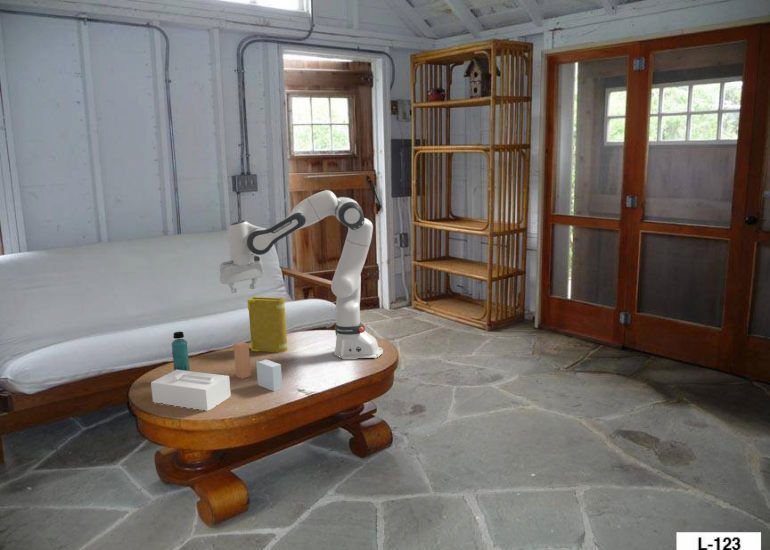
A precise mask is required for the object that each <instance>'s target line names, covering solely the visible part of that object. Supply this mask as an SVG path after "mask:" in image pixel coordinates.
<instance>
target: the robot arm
mask: <svg viewBox="0 0 770 550" xmlns="http://www.w3.org/2000/svg"><path fill="white" fill-rule="evenodd" d="M329 216H334V217H335V218H336V219H337V220H338V221H339V222H340V223H341V224H342V225H343V226H345V227H346V228H347V229H348V230H347V234H346V237H345V241H344V244H343V248H342V252H341V255H340V258H339V260H338V263H337V266H336V269H335V271H334V274H333V277H332V281H331V284H330V289H331V293H332V294H333V295H335V297H336V302H335V325H334V326H335V327H334V328H335V329H334V331H335V332H334V333H335V336H336V337H335V348H334V352H333V354H334V356H336V355H337V356H336V357H338V356H340V357H341V358H342V359H341V358H340V357H339V358H340V359H341V360H358V359H357V358H375V359H377V357H378V358H379V356H380V355H381V354H382V355H383V353H384V349H383V348H382V347H379V344H378V341H377V339H376V337H374V336H373V335H372V334H370V333H369V332H367V331H366V330H365V329H366V328H365V327H366V324H365V323H362V322H361V309H360V308H361V307H360V306H361V305H360V303H361V291H362V290H361V289H362V287H361V286H362V285H361V284H362V279H361V278H362V276H361V273H362V271H363V267H364V265H365V264H366V260H367V257H368V253H369V250H370V246H371V242H372V238H373V230H374V226H373V223H372V221H371V220H369V219H368V218H366V217H364V211H363V209H362V207H361V206H360V205H359V203H358V202H357V201H356V200H355V199H353V198H352V197H349V196H336V194H335V193H334V192H333V191H332V190H329V189H325V190H322V191H319V192H317V193H314V194H312V195H310V196H307V198H305V199H303V200H301V201H300V202H298V203H297V204H296V205H295V206H294V207H293V208H292V210H291V212H290V213H289V214H288V215H287V216H286V217H285V218H284V219H282V220H281V221H279V222H277V223H276V224H274V225H272V226H271V227H268V228H266V227H262V226H257V225H254V224H252V223H250V222H248V221H247V220H239V221H238V220H237V221H235V222H232V223H231V224H230V225H229V227H228V234H227V235H228V245H229V248H230V249H229V260H227V261H223V262H221V264H220V265H219V283H221V284H222V285H223V284H224V285H228V286H229V288H230V292H231V294H235V293H237V287H234V285H235V284H234V283H238V282H244V281H247V280H251V284H249V289H250V290H254V289H256V284H257V283H256V282H257V281H258V278H262V277H264V274H265V271H264V264H263V262H262V260H263V259H262V255H265V254H267V253H269V251H270V250H271V249H272V247H273V246H274V245H275V244H276V243H277V242H278V241H280V240H282V239H283V238H285V237H287V236H288V235H290V234H291V233H294V232H296V231H298V230H300V229H304V228H306V227H309V226H312V225H314V224H317V223H318V222H320V221H322V220H323V219H325V218H326V217H329ZM382 355H381V356H382ZM381 356H380V357H381Z"/></svg>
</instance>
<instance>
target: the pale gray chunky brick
mask: <svg viewBox="0 0 770 550" xmlns="http://www.w3.org/2000/svg"><path fill="white" fill-rule="evenodd" d="M255 368H256V382H257V383H256V384H257V386H259V387H263V388H265V389H267V390H270V391H272V392H277V391H280V390H282V389H283V378H282V364H280V363H277V362H274V361H272V360H269V359H266V358H262V359H258V360H255Z"/></svg>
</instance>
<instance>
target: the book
mask: <svg viewBox="0 0 770 550" xmlns="http://www.w3.org/2000/svg"><path fill="white" fill-rule="evenodd" d="M285 304H286V303H285V298H283V297H271V296H269V297H266V296H253V297H252V298H249V299H247V310H248V318H249V328H250V329H249V330H250V332H249V333H250V350H251V352H265V351H266V352H267V351H268V352H267V353H278V352H281V353H286V352H287V351H288V349H289V348H288V337H287V323H286V307H285ZM285 351H286V352H285ZM266 352H265V353H266Z"/></svg>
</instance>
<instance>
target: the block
mask: <svg viewBox="0 0 770 550" xmlns="http://www.w3.org/2000/svg"><path fill="white" fill-rule="evenodd" d="M233 354H234V367H235V376H236V377H238V376H239V377H238V378H240V377H241V379H245V378H249V377H252V373H251V360H250V347H249V343H247V342H244V341H241V342H240V341H239V342H236V343H233Z"/></svg>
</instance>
